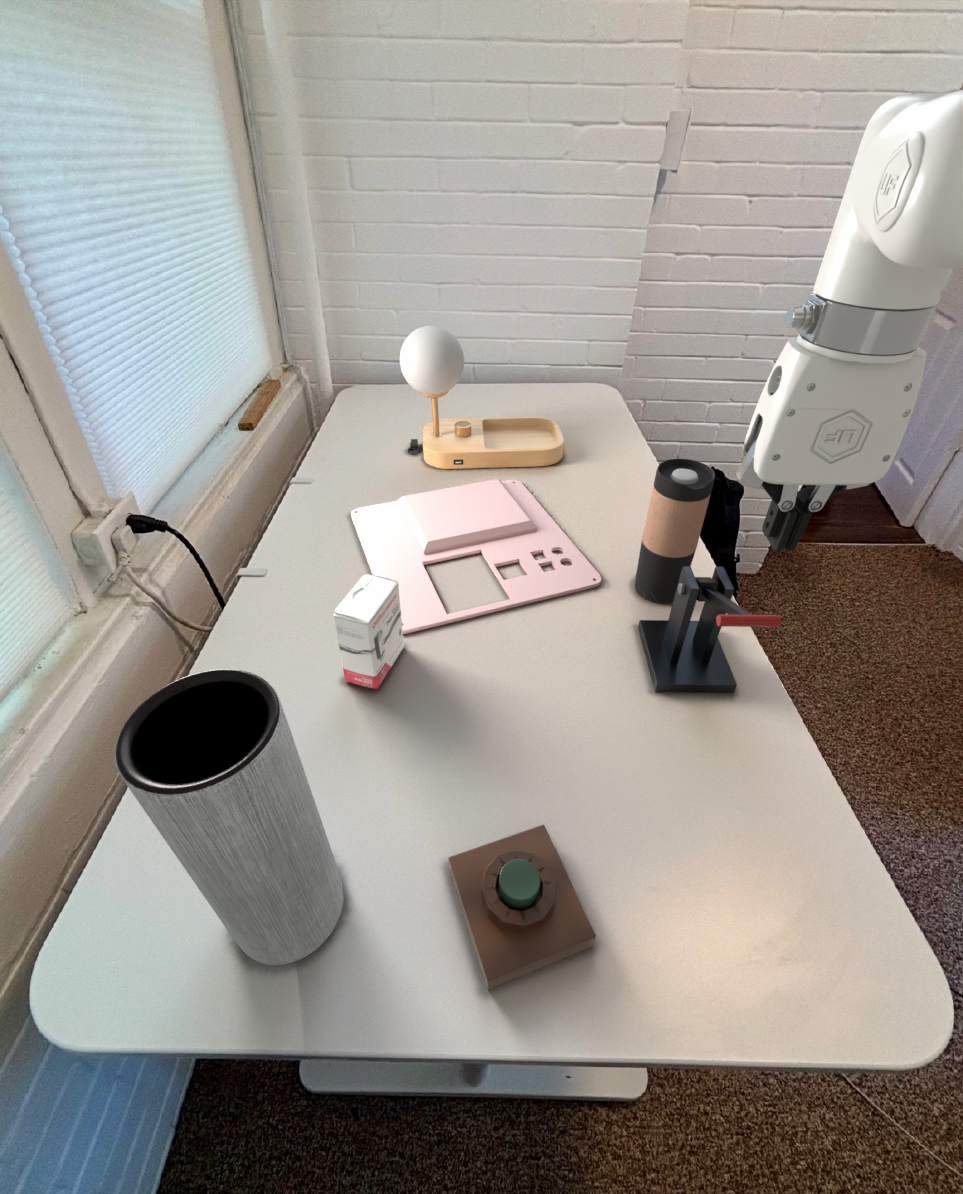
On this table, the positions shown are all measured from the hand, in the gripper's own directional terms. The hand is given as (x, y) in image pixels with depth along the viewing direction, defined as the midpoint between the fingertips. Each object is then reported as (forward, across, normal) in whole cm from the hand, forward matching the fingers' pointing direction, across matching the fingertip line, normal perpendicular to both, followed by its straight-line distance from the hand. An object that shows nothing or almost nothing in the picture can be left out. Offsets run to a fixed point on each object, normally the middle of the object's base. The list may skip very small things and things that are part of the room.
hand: (778, 541), depth 53 cm
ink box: (+27, -41, +10) cm, 50 cm away
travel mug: (+27, 0, +26) cm, 38 cm away
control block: (+27, -23, -21) cm, 41 cm away
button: (+23, -23, -21) cm, 39 cm away
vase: (+27, -44, -21) cm, 56 cm away
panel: (+27, -30, +38) cm, 55 cm away
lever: (+14, 0, +6) cm, 15 cm away
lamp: (+27, -28, +74) cm, 83 cm away
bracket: (+27, 0, +12) cm, 29 cm away
